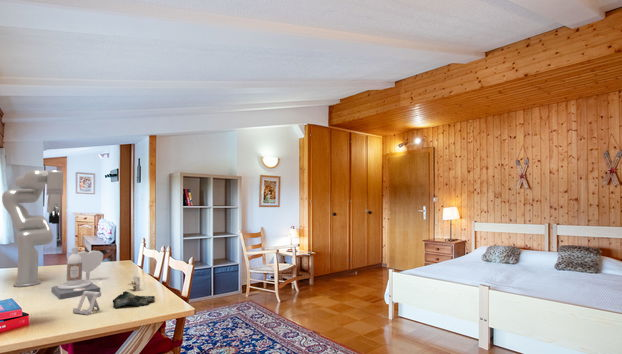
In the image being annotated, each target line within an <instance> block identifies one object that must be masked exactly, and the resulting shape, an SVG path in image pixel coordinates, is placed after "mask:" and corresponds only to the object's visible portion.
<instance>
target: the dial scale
mask: <svg viewBox="0 0 622 354" xmlns="http://www.w3.org/2000/svg"><path fill="white" fill-rule="evenodd" d="M84 291H92V292H100V293H101V287H100V286H98V285H97V284H95V283H93V282H90V281H84V280H82V283H81V284H78V285H67V282H65V283H64V282H63V283H61V284H58V285H54V286H51V293H53V294H54V296H55V297H56V298H58V299H59V300H63V299H69V298H75V297H76V298H77V297H82V295H83V292H84Z"/></svg>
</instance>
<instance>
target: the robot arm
mask: <svg viewBox="0 0 622 354" xmlns="http://www.w3.org/2000/svg"><path fill="white" fill-rule="evenodd" d="M14 183H15V185H16V186H17V188H18V189H17V188H16V189H15V188H14V189H13V188H12V189H7V190H5V191H3V193H2V195H1V200H2V205H3V207H4V209H5V210H6V211H7V213H8V214H9V216H10V218H11V220H12V223H13V225H14V228H15V229H16V231H17V232H18V233H17V235H16V244H17V278H16V279H17V281H16V282H15V283H14V284H13V287H18V288H19V287H31V286H36V285H40V284H41V283H42V281H41V280H40V279H39V251H38V249H36V248H35V246H36V247H37V246H45V245H48V244H51V243H52V242H53V239H54V234H53V231H52V228H51V226H50V224H53V225H55V224H56V225H57V224H60V212H61V200H62V199H61V196H63V195H64V172H63V171H62V170H55V169H53V170H45V169H44V170H42V169H34V170H33V169H32V170H28V171H26V172H25V173H24V174H23V175H19V176H18V177H17V178H16V179H15V182H14ZM19 188H20V189H19ZM45 188H46V194H45V195H46V196H47V203H46V205H47V207H46V212H47V213H49V214H48V220H47V218H46V217H45V216H44V215H40V214H38V215H32V214H31V215H30V214H29V211H28V210H27V208H26V207H25V206H23V205H22V204H32V203H36V202H37V201H39V199H40V196H41V195H42V192H43V191H44V189H45Z"/></svg>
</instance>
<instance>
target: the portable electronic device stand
mask: <svg viewBox="0 0 622 354" xmlns="http://www.w3.org/2000/svg"><path fill="white" fill-rule="evenodd" d="M101 296H102V292H101V291H100V292H92V291H84V292H83V295H82V296H80V300H79V303H78V304H77V307H76V308H75V307H73V308H72V313H74V314H79V315H80V314H81V315H85V316H90V315H91V314H92V311H93V310H95V308H96V309H97V310H98V311H99V310H101V309H100V306H99V303H98V301H97V298H100V297H101ZM85 299H87V301H88V303H89V306H88V309H82V307H83V304H84V302H85Z"/></svg>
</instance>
